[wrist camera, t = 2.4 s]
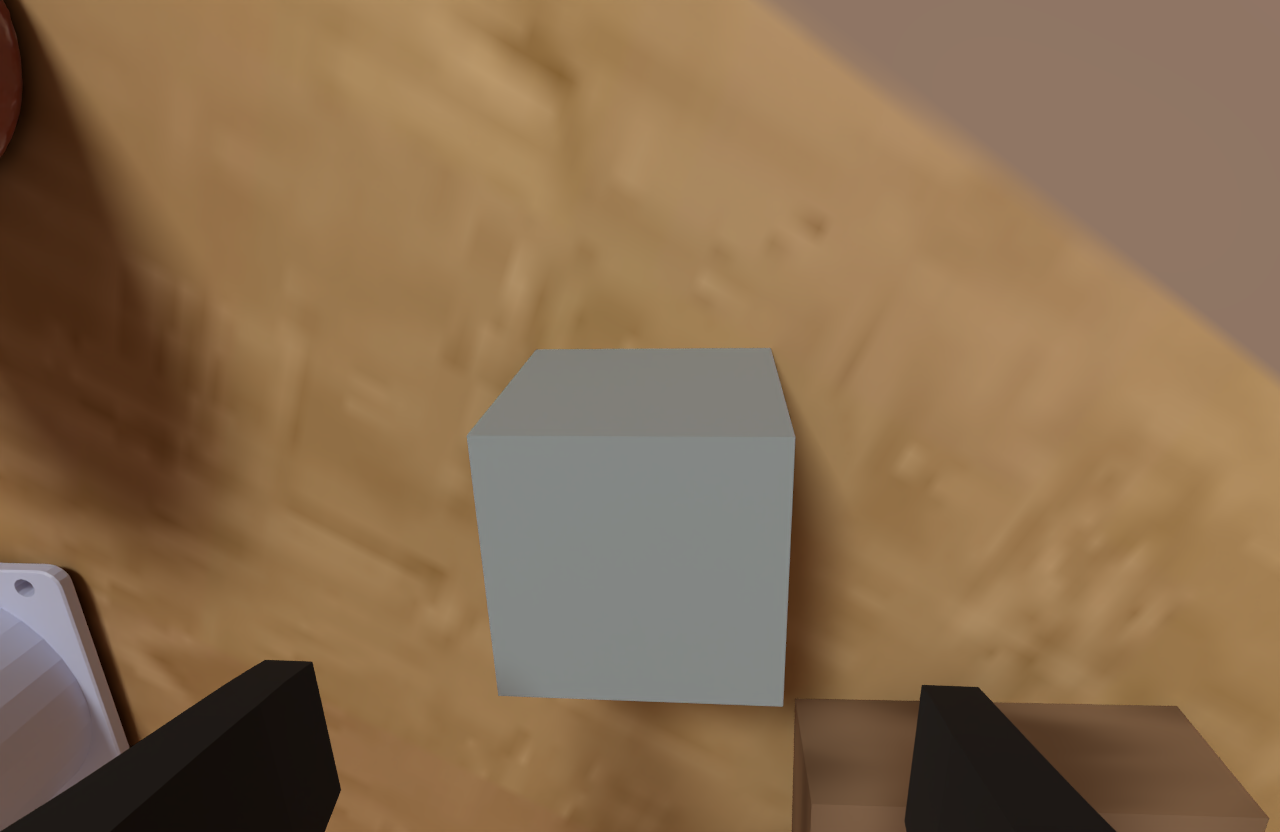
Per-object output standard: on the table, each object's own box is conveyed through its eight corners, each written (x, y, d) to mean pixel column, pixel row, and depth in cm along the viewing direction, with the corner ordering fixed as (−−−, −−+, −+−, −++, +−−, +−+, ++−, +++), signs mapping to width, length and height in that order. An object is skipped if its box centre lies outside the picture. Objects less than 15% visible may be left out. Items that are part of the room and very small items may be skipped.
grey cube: (553, 549, 18) (498, 695, 13) (536, 348, 16) (466, 435, 12) (763, 553, 17) (783, 706, 13) (770, 347, 16) (795, 436, 11)
